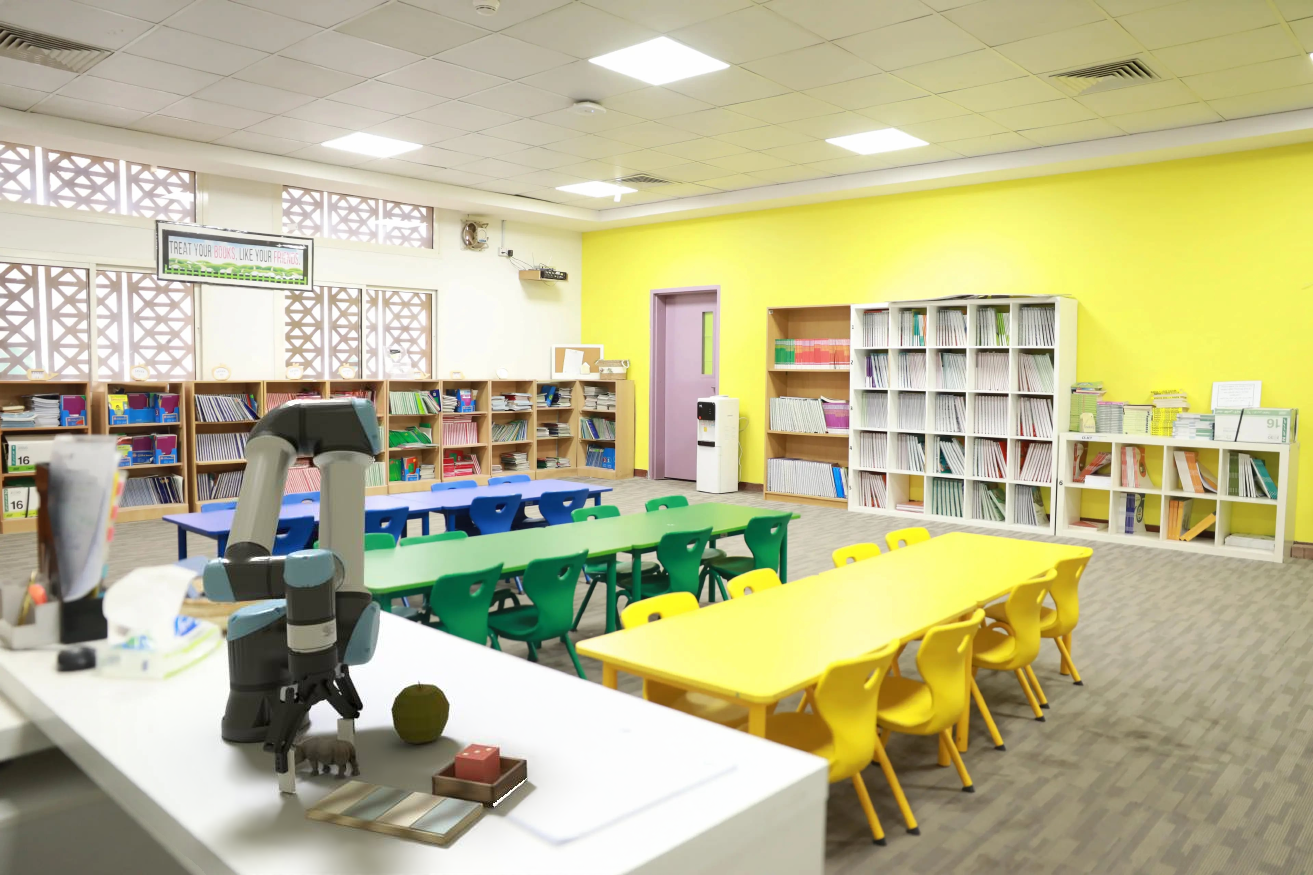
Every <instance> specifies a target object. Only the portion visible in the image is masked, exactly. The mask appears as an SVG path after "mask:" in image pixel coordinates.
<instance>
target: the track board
mask: <svg viewBox="0 0 1313 875" xmlns="http://www.w3.org/2000/svg"><path fill="white" fill-rule="evenodd" d="M305 810H306V812H305V813H306V818H307V819H313V820H317V821H323V822H328V823H332V824H337V825H343V826H347V827H352V828H357V829H363V830H367V831H373V832H378V833H381V834H387V835H393V836H396V837H402V838H407V839H412V840H416V841H417V840H418V841H423V842H426V843H433V844H435V845H436V844H438V845H443V846H445V845H446V844H447V843H448V842H449V841H451V840H452V839H453V838H454V837H456V836H457V835H458V834H459V833H460V832H461V831H462V830H463V829H465V828H466V827H468V825H469V824H471V823H472V822H473V821H474V820H475V819H477V818H478V817H479V816H480V815H481V814H483V813H484V806H483V804H481V803H476V802H470V801H464V800H459V799H453V798H447V797H442V796H436V795H432V794H429V793H424V792H417V791H413V790H407V789H401V788H396V787H391V786H383V785H379V784H372V783H368V782H362V781H357V780H350V781H348V782H346V783H345V784H344V785H342V786H341V787H339V788H336V790H334V791H333V792H331V793H329V794H328V795H326V796H324V797H323V798H321V799H320V800H317V801H316V802H315V803H313V804H312V805H310V806H308V808H307V809H305Z"/></svg>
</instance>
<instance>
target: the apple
mask: <svg viewBox="0 0 1313 875" xmlns="http://www.w3.org/2000/svg"><path fill="white" fill-rule="evenodd" d="M450 705H451V704H450V702H449V701H448V699H447V697H446V694H445V692H444V691H443V690H442V689H441V688H440V687H438V686H437V685H435V684H428V683H427V684H425V683H421V682H420V681H418V683H416V684H412V685H409V686H405V687H404V688H403V689H402V690H400V692H399V693H398V694H397V695H396V696H395V698H394V700H393V703H392V707H391V715H392V716H391V717H392V722H393V728H394V730H395V732H396V733H397V735H398V737H399V740H402V741H403V742H407V743H410V744H415V745H422V744H426V743H430V742H432V741H434V740H436V739H438V738H439V737H441V736H442V735H443V732H444V730H445V728H446V726H447V723H448V720H449V716H450V707H451V706H450Z"/></svg>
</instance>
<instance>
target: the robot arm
mask: <svg viewBox="0 0 1313 875" xmlns="http://www.w3.org/2000/svg"><path fill="white" fill-rule="evenodd" d="M381 440H382V439H381V432H380V426H379V421H378V415H377V410H376V407H375V404H374V403H373V401H372V400H371V399H369V398H364V397H363V398H359V397H358V398H357V397H355V398H354V397H351V396H349V397H342V398H341V397H339V398H335V397H334V398H296V399H291V400H287V401H285V402H282V403H280V404H278V405H277V406H274V407H273V408H272V409H270V410H269V411H268V412H266V413H265V414H264V415H263V416H262V417H260V419H259V420H258V421H257V423H256V424H255V425H254V426H253V428H252V429H251V431H250V433H249V435H248V436H247V439H246V441H245V446H244V451H243V452H244V453H243V455H244V458H245V459H246V461H247V462H246V466H245V470H244V474H243V478H242V482H241V486H240V488H239V494H238V499H237V502H236V507H235V511H234V515H233V518H232V522H231V526H230V530H229V535H228V539H227V543H226V546H225V551H224V555H223V557H218V558H211V559H209V560H208V561H207V562H206V564H205V565H204V568H203V573H202V586H203V588H202V589H203V592H204V595H205V597H206V599H207V600H208V601H209V602H211V603H233V604H236V603H240V602H254V601H261V602H256V603H253V604H250V605H246V606H244V607H241V608H239V609H237V610H236V611H234V612H232V613H231V615H230V616H229V617H228V619H227V627H226V628H227V630H226V631H227V633H226V634H227V635H226V643H227V659H228V660H227V661H228V675H229V677H228V678H229V695H228V696H227V697H228V698H227V702H226V705H225V711H224V715H223V716H222V717H221V721H220V722H221V724H220V726H221V727H220V728H221V730H220V731H221V737H223V738H224V739H226V740H228V741H231V742H238V743H239V742H241V743H252V742H256V743H257V742H263V741H264V742H263V748H262V751H263V752H264V753H270V754H274V765H275V767H274V770H275V772H276V773H277V781H278V782H277V784H278V792H283V793H284V792H286V793H290V794H293V793H294V792H297V791H296V790H297V788H296V786H297V785H296V766H295V762H294V751H295V750H293V749H291V747H292V746H291V745H292V743H294V741H295V738H296V736H297V734H298V732H299V731H300V730H301V729H303V728H304V727H306V726H307V725H308V724H309V722H310V710H311V709H312V706H316V705H317V704H319V702H324V701H325V700H326V701H327V702H328V703H329V704H330V706H331V707H332V708H333V709H334V710H335V711H336V712H337V713H338V715H339V716H340V717H339V718H337V720H336V725H337V739H338V740H345V741H349V742H351V743H352V744H353V745H354V746H355V742H354V740H355V739H354V736H355V734H356V733H355V732H356V727H355V719H357V720H358V719H359V718H360V715H361V711H363V709H364V704H363V702H362V700H361V697H360V695H359V693H358V690H357V689H356V686H355V684H354V683H353V680H352V678H351V676H350V668H349V667H353V666H361V665H366V664H368V663H369V662H371V661H372V658H373V656H374V655H375V653H376V652H375V651H376V649H377V648H376V647H377V646H378V645H377V644H378V639H379V632H380V625H381V619H380V616H381V605H380V603H379V602H377V601H375V600H373V594H372V592H371V591H370V590H369V589H368V588H366V586H365V542H366V541H365V539H366V538H365V534H366V532H365V531H366V529H365V526H366V521H365V520H366V519H365V518H366V471H367V469H369V468H370V467H371V466H373V464H374V455H375V456H376V455H379V454H380V453H382V441H381ZM304 456H305V457H310V456H311V457H312V462H313V464H314V465H315V466H316V467H317V468H318V469H319V470H320V485H319V488H320V489H319V511H318V512H319V514H318V515H319V516H318V518H319V519H318V522H319V523H318V544H317V545H318V548H317V549H316V548H314V549H313V548H310V549H303V550H302V549H301V550H297V551H294V552H290V553H289V554H279V555H276V554H275V555H274V554H273V549H274V546H275V545H274V544H275V539H276V534H277V529H278V525H279V524H278V523H279V520H280V515H281V510H282V505H283V500H284V495H285V489H286V484H287V480H288V475H289V470H290V469H291V468H292V467H293V466H294V464H296V462H297V460H298V457H304Z"/></svg>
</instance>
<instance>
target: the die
mask: <svg viewBox="0 0 1313 875" xmlns="http://www.w3.org/2000/svg"><path fill="white" fill-rule="evenodd" d="M500 754H501V753H500V747H497V746H491V745H490V746H489V745H483V744H475V743H471V744H470V745H468V746H467V747H466V748H463V750H461V751H460V752H459V753H458V754H456V755H455V756H454V760H455V772H456V779H462V780H468V781H474V782H480V783H486V784H494V783H495V782H496V781H497V780H498V779H500V756H501V755H500Z"/></svg>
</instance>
